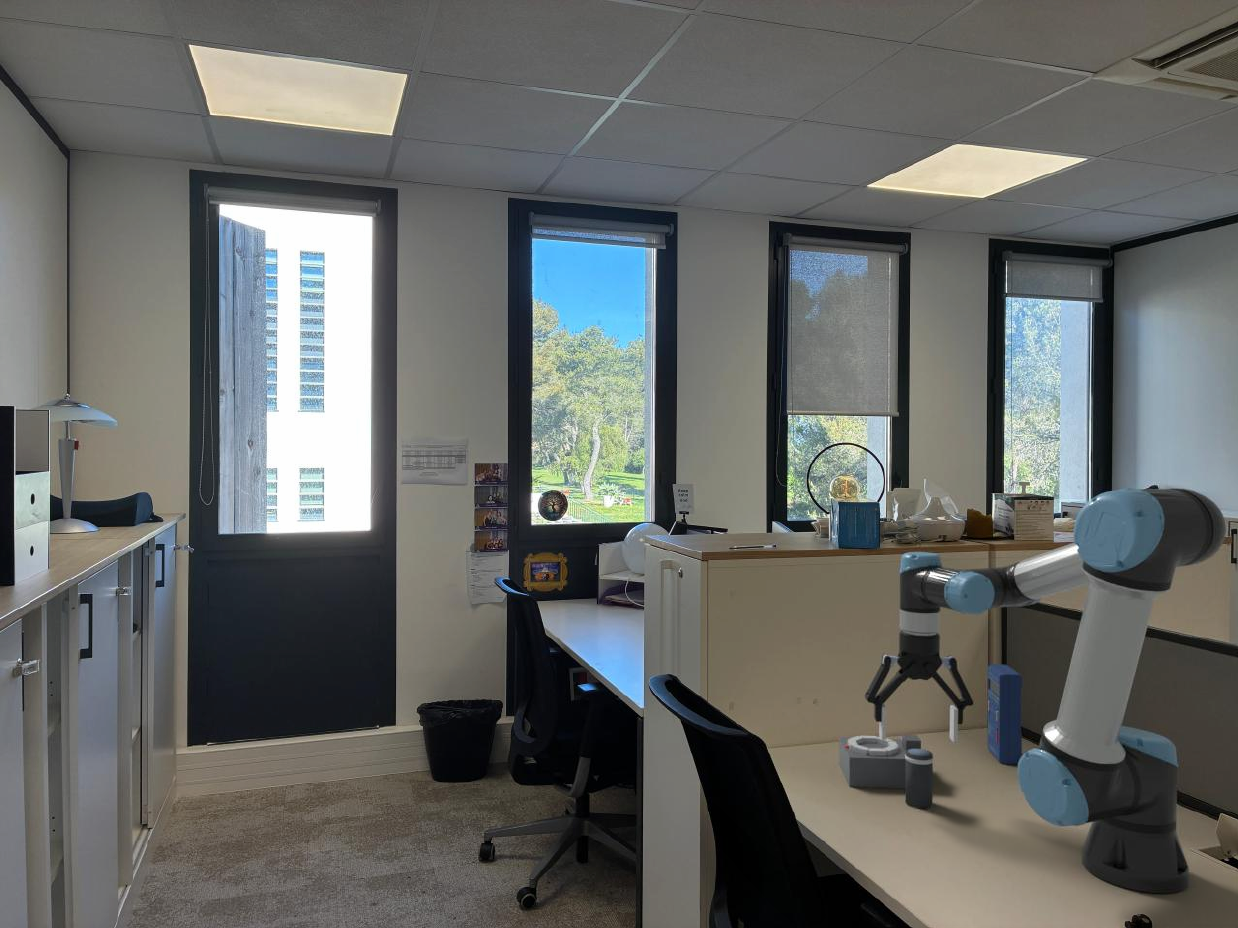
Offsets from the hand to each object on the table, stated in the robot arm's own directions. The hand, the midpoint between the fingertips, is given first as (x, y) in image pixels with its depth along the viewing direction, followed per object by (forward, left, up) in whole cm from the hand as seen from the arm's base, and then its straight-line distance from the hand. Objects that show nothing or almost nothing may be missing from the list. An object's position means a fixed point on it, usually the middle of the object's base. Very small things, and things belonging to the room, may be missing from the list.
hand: (917, 739), depth 173 cm
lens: (0, 0, -13) cm, 13 cm away
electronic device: (+29, -26, -13) cm, 41 cm away
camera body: (+14, +4, -13) cm, 19 cm away
